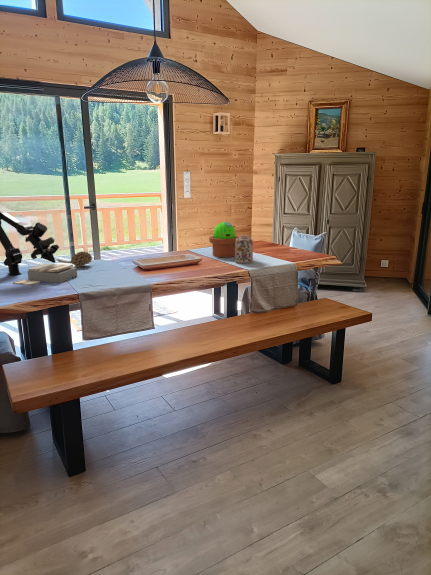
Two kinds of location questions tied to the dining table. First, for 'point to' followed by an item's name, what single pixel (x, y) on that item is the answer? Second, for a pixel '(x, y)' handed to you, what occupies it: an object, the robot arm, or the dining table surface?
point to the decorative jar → (243, 249)
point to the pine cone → (79, 259)
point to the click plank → (55, 268)
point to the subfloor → (51, 274)
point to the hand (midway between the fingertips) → (54, 262)
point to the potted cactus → (223, 240)
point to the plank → (26, 282)
